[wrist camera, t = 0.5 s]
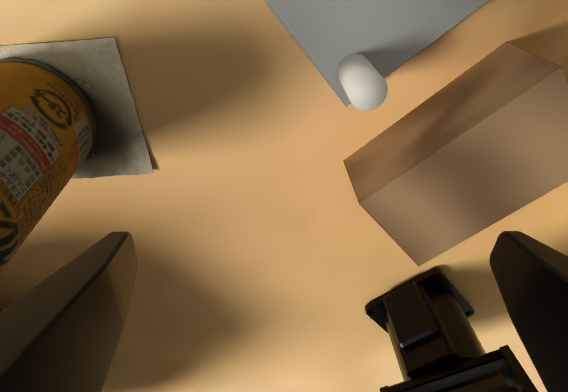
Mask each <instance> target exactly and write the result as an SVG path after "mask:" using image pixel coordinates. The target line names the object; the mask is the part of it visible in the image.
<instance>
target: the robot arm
mask: <svg viewBox="0 0 568 392" xmlns="http://www.w3.org/2000/svg"><path fill="white" fill-rule="evenodd" d="M490 266H491V269H492V272H493V274H494V277H495V279H496V282H497V285H498V287H499V290H500V293H501V295H502V298H503V300H504V303H505V306H506V308H507V311H508V313H509V316H510V318H511V320H512V322H513V325H514V327H515V329H516V331H517V333H518V335H519V337H520V339H521V341H522V343H523V344H524V346H525V348H526V350H527V352H528V354H529V356H530V358H531V360H532V362H533V364H534V366H535V368H536V370H537V372H538V374H539V376H540V378H541V380H542V382H543V384H544V386H545V388H546V390H547V392H568V257H567V256H566V255H564V254H562V253H560V252H558V251H556V250H554V249H552V248H550V247H549V246H547V245H545V244H543V243H541V242H539V241H537V240H535V239H533V238H532V237H530V236H528V235H526V234H524V233H522V232H519V231H504V232H502V233H501V234H499V236H498V238H497V241H496V243H495V245H494V248H493V250H492V252H491V255H490ZM136 270H137V255H136V251H135V247H134V242H133V238H132V235H131V234H130V233H129V232H111V233H109V234H108V235H107V236H105V237H104V238H102V239H101V240H100V241H98V242H97V243H95V244H94V245H93V246H91V247H90V248H88V249H87V250H86V251H84V252H83V253H82V254H80V255H79V256H77V257H76V258H75V259H73V260H72V261H70V262H69V263H68V264H66V265H65V266H63V267H62V268H61V269H59V270H58V271H56V272H55V273H54V274H52V275H51V276H49V277H48V278H47V279H45V280H44V281H43V282H41V283H40V284H38V285H37V286H36V287H34V288H33V289H31V290H30V291H29V292H27V293H26V294H24V295H23V296H22V297H20V298H19V299H17V300H16V301H15V302H13V303H12V304H10V305H9V306H8V307H6V308H5V309H4V310H2V311H1V312H0V392H101V391H102V388H103V385H104V383H105V380H106V377H107V374H108V371H109V368H110V365H111V362H112V360H113V357H114V354H115V351H116V348H117V345H118V342H119V339H120V337H121V334H122V330H123V327H124V324H125V320H126V316H127V311H128V307H129V302H130V297H131V293H132V288H133V284H134V279H135V275H136ZM365 311H366V314H367V315H368V316H369V317H370V318H372V319H373V320H374V321H375V322H376V323H377V324H378V325H379V326H381V327H382V328H383V329H384V330H385V331H386V332H387V333H389V336H390V339H391V342H392V345H393V348H394V351H395V354H396V357H397V361H398V364H399V367H400V370H401V373H402V376H403V379H404V382H401V383H398V384H395V385H392V386H389V387H388V386H385V387H382V388H380V392H538V390H537V389H536V387H535V386H534V384H533V383H532V381H531V380H530V378H529V377H528V375H527V374H526V372H525V371H524V369H523V367H522V366H521V364H520V363H519V361H518V360H517V358H516V357H515V355H514V354H513V352H512V351H511V349H510V347H509V346H508V345H505V346H502V347H499V348H500V349H498V350H495V351H492V352H489V353H487V354H486V353H485V351H484V349H483V347H482V345H481V343H480V341H479V340H478V338H477V336H476V334H475V332H474V330H473V328H472V326H471V325H470V323H469V321H468V319H467V318H468V317H470V316H472V315H473V314H474V309H473V308H472V306H471V305H470V304H469V302H468V301H467V300H466V299H465V298H464V297H463V295H462V294H461V293H460V292H459V291H458V289H457V288H456V287H455V286H454V285H453V283H452V282H451V281H450V280H449V279H448V277H447V276H446V275H445V274H444V273H443V271H442V270H441V269H438V268H436V269H432V270H430V271H428V272H427V273H425V274H423V275H421V276H419V277H417V278H415V279H414V280H412V281H410V282H408V283H406V284H404V285H402V286H401V287H399V288H397V289H395V290H393V291H391V292H389V293H387V294H386V295H384V296H382V297H380V298H378V299H376V300H374V301H373V302H371V303H369V304H367V305H366V306H365Z"/></svg>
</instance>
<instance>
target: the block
mask: <svg viewBox="0 0 568 392" xmlns="http://www.w3.org/2000/svg"><path fill="white" fill-rule="evenodd" d="M344 164H345V167H346V170H347V172H348V175H349V178H350V180H351V183H352V186H353V189H354V191H355V194H356V197H357V199H358V202H359V204H360V205H361V206H362V207H363V208H364V209H365V210H366V212H367V213H368V214H369V215H370V216H371V217H372V218H373V219H374V220H375V221H376V222H377V223H378V224H379V225H380V226H381V227H382V228H383V229H384V230H385V232H386V233H387V234H388V235H389V236H390V237H391V238H392V239H393V240H394V241H395V242H396V243H397V244H398V245H399V246H400V247H401V248H402V249H403V250H404V251H405V253H406V254H407V255H408V256H409V257H410V258H411V259H412V260H413V261H414V262H415V263H416V264H417V265H418V266H420V265H422V264H424V263H426V262H427V261H429V260H431V259H433V258H434V257H436V256H438V255H440V254H441V253H443V252H445V251H447V250H448V249H450V248H452V247H454V246H455V245H457V244H459V243H461V242H462V241H464V240H466V239H468V238H469V237H471V236H473V235H475V234H476V233H478V232H480V231H482V230H483V229H485V228H487V227H489V226H490V225H492V224H494V223H496V222H497V221H499V220H501V219H503V218H504V217H506V216H508V215H510V214H511V213H513V212H515V211H517V210H518V209H520V208H522V207H524V206H525V205H527V204H529V203H531V202H532V201H534V200H536V199H538V198H539V197H541V196H543V195H545V194H546V193H548V192H550V191H552V190H553V189H555V188H557V187H559V186H560V185H562V184H564V183H566V182H568V82H567V79H566V77H565V74H564V72H563V70H562V67H560V66H557V65H555V64H553V63H551V62H549V61H547V60H544V59H542V58H540V57H538V56H536V55H534V54H531V53H529V52H527V51H525V50H523V49H521V48H518V47H516V46H514V45H512V44H510V43H508V42H505V43H504V44H502V45H501V46H500V47H498V48H497V49H496V50H494V51H493V52H491V53H490V54H489V55H487V56H486V57H485V58H483V59H482V60H481V61H479V62H478V63H476V64H475V65H474V66H472V67H471V68H470V69H468V70H467V71H465V72H464V73H463V74H461V75H460V76H459V77H457V78H456V79H455V80H453V81H452V82H450V83H449V84H448V85H446V86H445V87H444V88H442V89H441V90H440V91H438V92H437V93H435V94H434V95H433V96H431V97H430V98H429V99H427V100H426V101H424V102H423V103H422V104H420V105H419V106H418V107H416V108H415V109H414V110H412V111H411V112H409V113H408V114H407V115H405V116H404V117H403V118H401V119H400V120H399V121H397V122H396V123H394V124H393V125H392V126H390V127H389V128H388V129H386V130H385V131H383V132H382V133H381V134H379V135H378V136H377V137H375V138H374V139H373V140H371V141H370V142H368V143H367V144H366V145H364V146H363V147H362V148H360V149H359V150H358V151H356V152H355V153H353V154H352V155H351V156H349V157H348V158H347V159H345V160H344Z"/></svg>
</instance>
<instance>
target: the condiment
mask: <svg viewBox="0 0 568 392" xmlns="http://www.w3.org/2000/svg"><path fill="white" fill-rule="evenodd" d="M77 79H80V80H81V81H82V82H83V84H80V83H79V82H78V81H77ZM86 83H87V84H89V85H91V86H92V89H90V88H88V87H87V86H86V85H85V84H86ZM92 154H94V155H95V156H92ZM148 173H153V169H152V165H151V162H150V157H149V153H148V150H147V146H146V142H145V139H144V136H143V132H142V128H141V124H140V121H139V118H138V114H137V111H136V108H135V104H134V100H133V96H132V94H131V91H130V88H129V85H128V81H127V78H126V74H125V70H124V67H123V64H122V61H121V58H120V55H119V51H118V48H117V45H116V41H115V38H103V39H91V40H77V41H65V42H52V43H37V44H20V45H6V46H0V271H1V270H2V268H4V267H5V266H6V265H7V264H8V262H9V260H10V259H11V258H12V256H13V255H14V254H15V252H16V251H17V249H18V248H19V247H20V246H21V244H22V243H23V242H24V240H25V239H26V238H27V236H28V235H29V233H30V232H31V231H32V229H33V228H34V227H35V225H36V224H37V223H38V221H39V220H40V219H41V218H42V216H43V215H44V214H45V212H46V211H47V209H48V208H49V207H50V206H51V204H52V203H53V201H54V200H55V199H56V198H57V196H58V195H59V194H60V192H61V191H62V190H63V188H64V187H65V186H66V184H67V183H68V181H69V180H70V179H71V178H95V177H102V176H114V175H138V174H148Z"/></svg>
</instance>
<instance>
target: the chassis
mask: <svg viewBox="0 0 568 392" xmlns="http://www.w3.org/2000/svg"><path fill="white" fill-rule="evenodd" d="M264 1H265V2H266V3H267V4H268V6H269V7H270V8H271V10H272V11H273V12H274V14H275V15H276V16H277V17H278V19H279V20H280V21H281V23H282V24H283V25H284V27H285V28H286V29H287V30H288V32H289V33H290V34H291V36H292V37H293V38H294V40H295V41H296V42H297V43H298V45H299V46H300V47H301V49H302V50H303V51H304V53H305V54H306V55H307V57H308V58H309V59H310V60H311V62H312V63H313V64H314V66H315V67H316V68H317V70H318V71H319V72H320V73H321V75H322V76H323V77H324V79H325V80H326V81H327V83H328V84H329V85H330V86H331V88H332V89H333V90H334V92H335V93H336V94H337V96H338V97H339V98H340V99H341V101H342V102H343V103H344V105H345V106H346V107H347V106H348V105H349V104H351V103H352V105H353V106H354V107H355V108H357V109H359V110H363V111H368V110H372V109H375V108H377V107H378V106H379V105H381V104H382V102H383V101H384V100H385V98H386V95H387V84H386V81H385V80H384V78H385V77H387V76H388V75H389V74H391V73H392V72H393V71H395V70H396V69H397V68H399V67H400V66H401V65H403V64H404V63H405V62H407V61H408V60H409V59H411V58H412V57H413V56H415V55H416V54H417V53H419V52H420V51H421V50H423V49H424V48H425V47H427V46H428V45H429V44H431V43H432V42H433V41H435V40H436V39H437V38H439V37H440V36H441V35H443V34H444V33H445V32H447V31H448V30H449V29H451V28H452V27H453V26H455V25H456V24H457V23H459V22H460V21H461V20H463V19H464V18H465V17H467V16H468V15H469V14H471V13H472V12H473V11H475V10H476V9H477V8H479V7H480V6H481V5H483V4H484V3H485V2H487V1H488V0H264Z"/></svg>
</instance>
